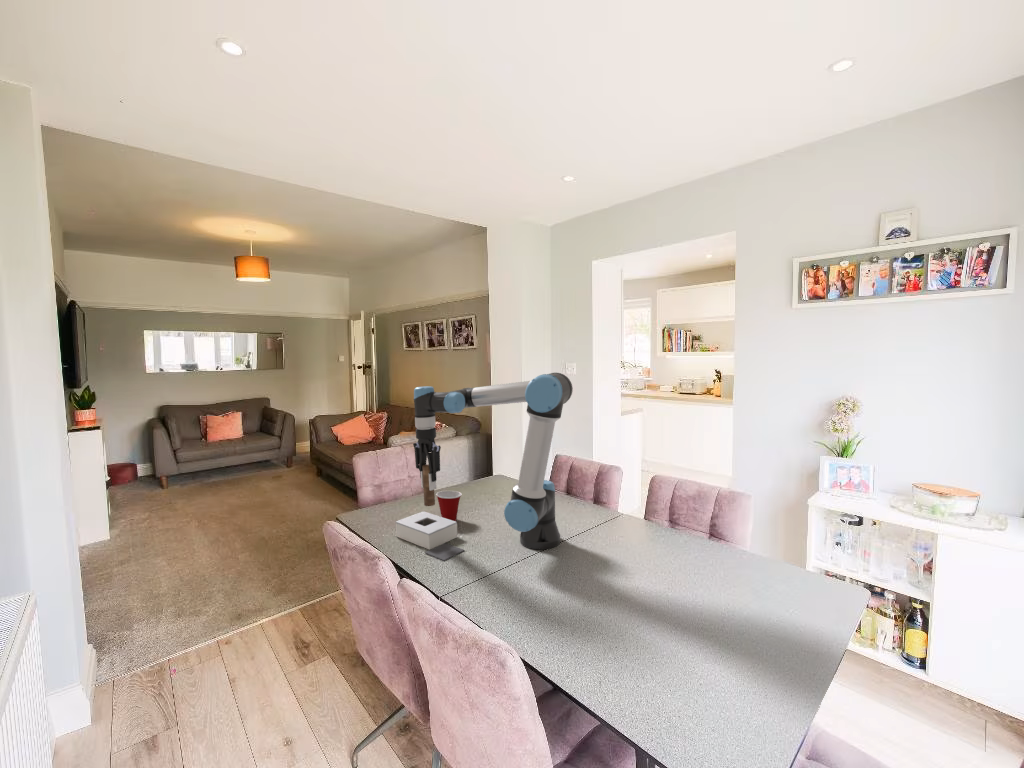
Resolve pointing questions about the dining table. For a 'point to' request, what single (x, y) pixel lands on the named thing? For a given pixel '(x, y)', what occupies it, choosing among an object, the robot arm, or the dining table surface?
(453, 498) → the plastic cup
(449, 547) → the pad
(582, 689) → the dining table surface
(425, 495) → the wooden rod
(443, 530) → the box
